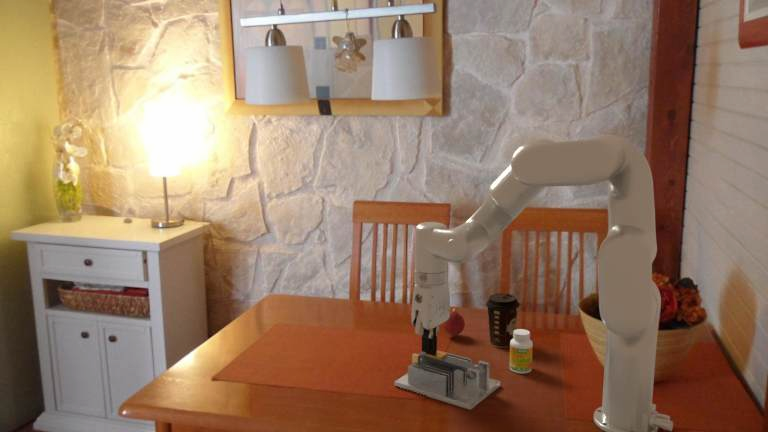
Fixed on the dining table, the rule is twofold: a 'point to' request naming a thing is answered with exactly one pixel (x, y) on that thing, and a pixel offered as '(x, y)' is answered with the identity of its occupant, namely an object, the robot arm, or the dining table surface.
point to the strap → (452, 362)
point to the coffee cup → (502, 319)
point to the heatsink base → (448, 382)
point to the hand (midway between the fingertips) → (429, 351)
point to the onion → (454, 324)
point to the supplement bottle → (521, 352)
